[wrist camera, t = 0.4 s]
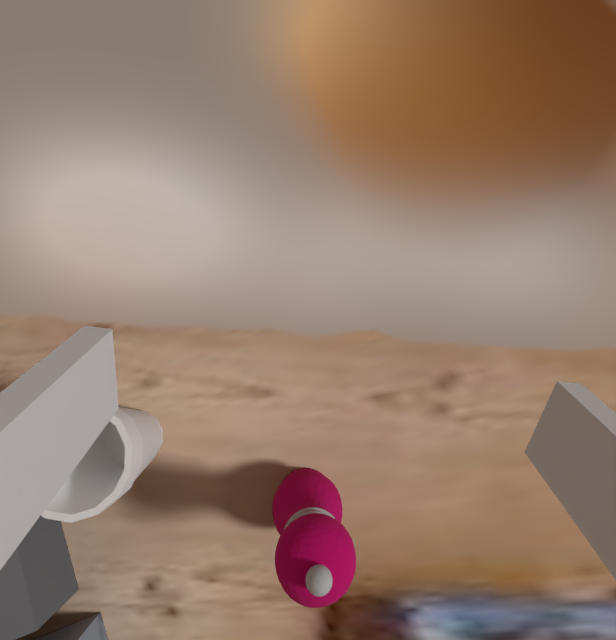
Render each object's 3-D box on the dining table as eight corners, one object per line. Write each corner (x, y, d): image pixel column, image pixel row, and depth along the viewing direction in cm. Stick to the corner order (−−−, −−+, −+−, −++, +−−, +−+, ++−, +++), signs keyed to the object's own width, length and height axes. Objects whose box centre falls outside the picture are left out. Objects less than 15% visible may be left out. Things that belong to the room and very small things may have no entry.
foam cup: (185, 404, 45) (145, 413, 33) (166, 487, 44) (117, 530, 31) (104, 390, 45) (32, 393, 32) (82, 472, 44) (-3, 510, 31)
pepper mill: (284, 539, 44) (282, 669, 24) (265, 475, 45) (249, 549, 25) (344, 517, 44) (391, 625, 25) (325, 454, 45) (355, 510, 26)
